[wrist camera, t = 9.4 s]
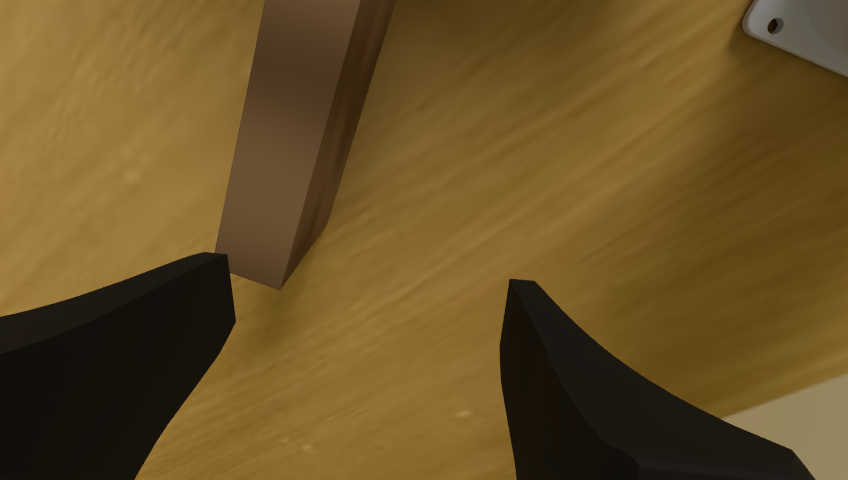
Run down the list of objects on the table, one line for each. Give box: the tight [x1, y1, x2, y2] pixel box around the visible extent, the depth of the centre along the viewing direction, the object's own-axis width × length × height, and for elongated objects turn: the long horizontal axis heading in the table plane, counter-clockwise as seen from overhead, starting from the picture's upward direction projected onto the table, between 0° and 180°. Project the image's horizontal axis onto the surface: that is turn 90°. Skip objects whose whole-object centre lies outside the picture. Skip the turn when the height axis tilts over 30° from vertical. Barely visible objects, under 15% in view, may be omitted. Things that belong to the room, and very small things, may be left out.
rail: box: [215, 0, 395, 290], centre depth 15 cm, size 17×3×6 cm, turn 160°
